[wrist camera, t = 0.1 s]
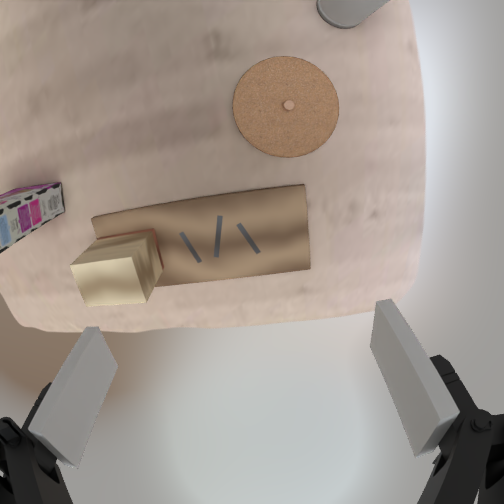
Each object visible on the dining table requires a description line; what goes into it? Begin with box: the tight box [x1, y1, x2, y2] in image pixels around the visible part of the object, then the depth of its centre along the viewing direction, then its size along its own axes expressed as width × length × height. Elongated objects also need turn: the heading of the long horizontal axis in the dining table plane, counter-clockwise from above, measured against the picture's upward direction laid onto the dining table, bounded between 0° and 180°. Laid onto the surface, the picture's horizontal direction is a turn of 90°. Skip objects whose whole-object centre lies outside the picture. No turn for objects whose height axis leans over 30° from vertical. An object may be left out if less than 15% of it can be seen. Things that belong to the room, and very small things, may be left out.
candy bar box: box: [0, 183, 65, 253], centre depth 30 cm, size 11×5×16 cm, turn 89°
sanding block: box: [70, 228, 164, 307], centre depth 37 cm, size 6×9×9 cm, turn 98°
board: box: [91, 184, 310, 287], centre depth 41 cm, size 12×30×1 cm, turn 98°
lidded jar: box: [233, 56, 339, 158], centre depth 30 cm, size 11×11×9 cm
